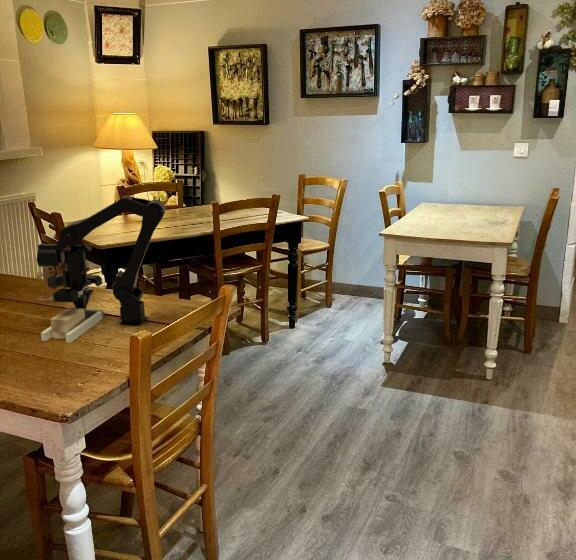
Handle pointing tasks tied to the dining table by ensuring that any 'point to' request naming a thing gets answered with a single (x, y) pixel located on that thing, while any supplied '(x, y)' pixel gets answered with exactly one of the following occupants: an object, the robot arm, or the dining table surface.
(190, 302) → the dining table surface
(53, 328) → the birch block
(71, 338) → the channel
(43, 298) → the gingerbread man figurine
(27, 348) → the dining table surface
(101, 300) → the dining table surface
